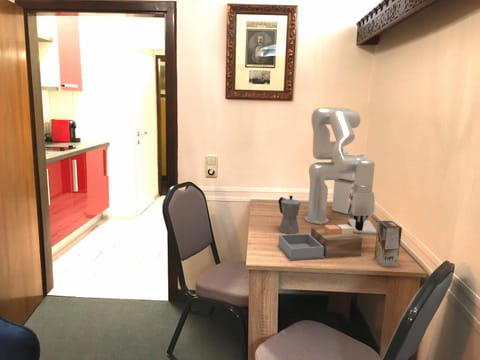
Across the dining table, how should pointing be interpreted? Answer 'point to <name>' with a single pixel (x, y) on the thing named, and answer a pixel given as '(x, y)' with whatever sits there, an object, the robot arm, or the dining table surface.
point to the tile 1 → (331, 229)
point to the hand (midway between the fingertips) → (358, 229)
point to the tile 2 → (345, 229)
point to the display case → (343, 191)
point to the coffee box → (387, 243)
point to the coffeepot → (289, 215)
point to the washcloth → (367, 227)
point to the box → (300, 247)
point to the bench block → (338, 243)
